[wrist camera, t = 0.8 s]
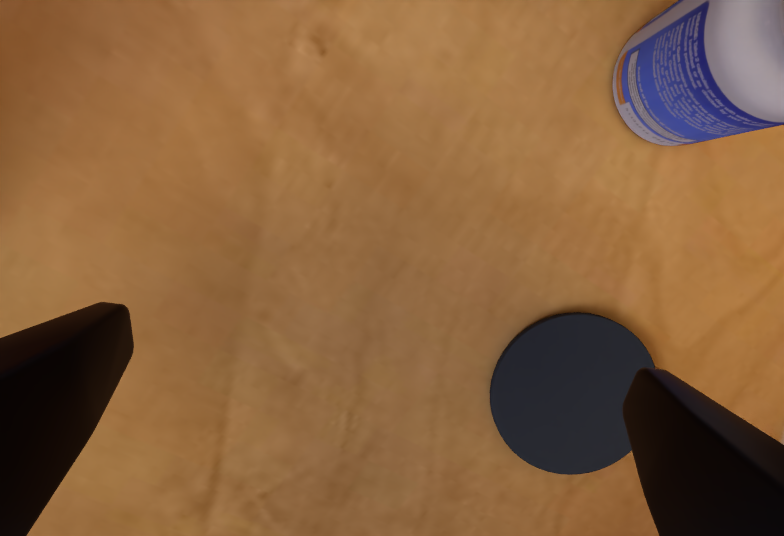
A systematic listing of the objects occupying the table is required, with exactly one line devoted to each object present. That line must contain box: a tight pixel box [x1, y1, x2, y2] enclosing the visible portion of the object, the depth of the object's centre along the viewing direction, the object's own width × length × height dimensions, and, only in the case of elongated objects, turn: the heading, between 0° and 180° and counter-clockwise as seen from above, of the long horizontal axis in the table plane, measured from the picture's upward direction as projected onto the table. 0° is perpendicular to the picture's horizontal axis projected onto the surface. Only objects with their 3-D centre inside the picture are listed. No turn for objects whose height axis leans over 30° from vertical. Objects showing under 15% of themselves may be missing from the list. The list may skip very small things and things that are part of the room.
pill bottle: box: [613, 0, 784, 146], centre depth 16 cm, size 5×5×10 cm
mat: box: [490, 312, 655, 475], centre depth 23 cm, size 8×8×1 cm
